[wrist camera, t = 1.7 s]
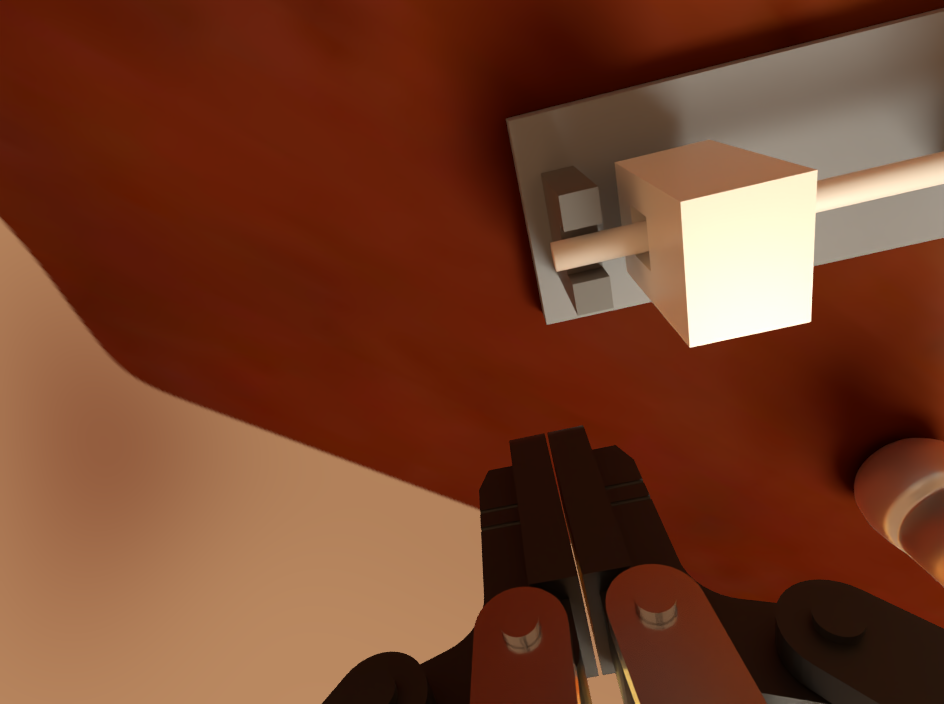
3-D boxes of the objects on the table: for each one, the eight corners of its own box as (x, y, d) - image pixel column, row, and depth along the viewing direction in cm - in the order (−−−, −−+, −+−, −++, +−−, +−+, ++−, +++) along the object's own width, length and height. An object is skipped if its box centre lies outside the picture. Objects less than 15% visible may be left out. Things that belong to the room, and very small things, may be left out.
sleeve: (614, 162, 24) (680, 201, 17) (709, 139, 24) (817, 169, 16) (626, 271, 26) (689, 347, 19) (713, 251, 26) (810, 321, 19)
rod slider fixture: (505, 118, 26) (528, 142, 17) (1009, -10, 24) (1310, -52, 15) (542, 313, 30) (575, 408, 22) (970, 218, 28) (1188, 282, 20)
